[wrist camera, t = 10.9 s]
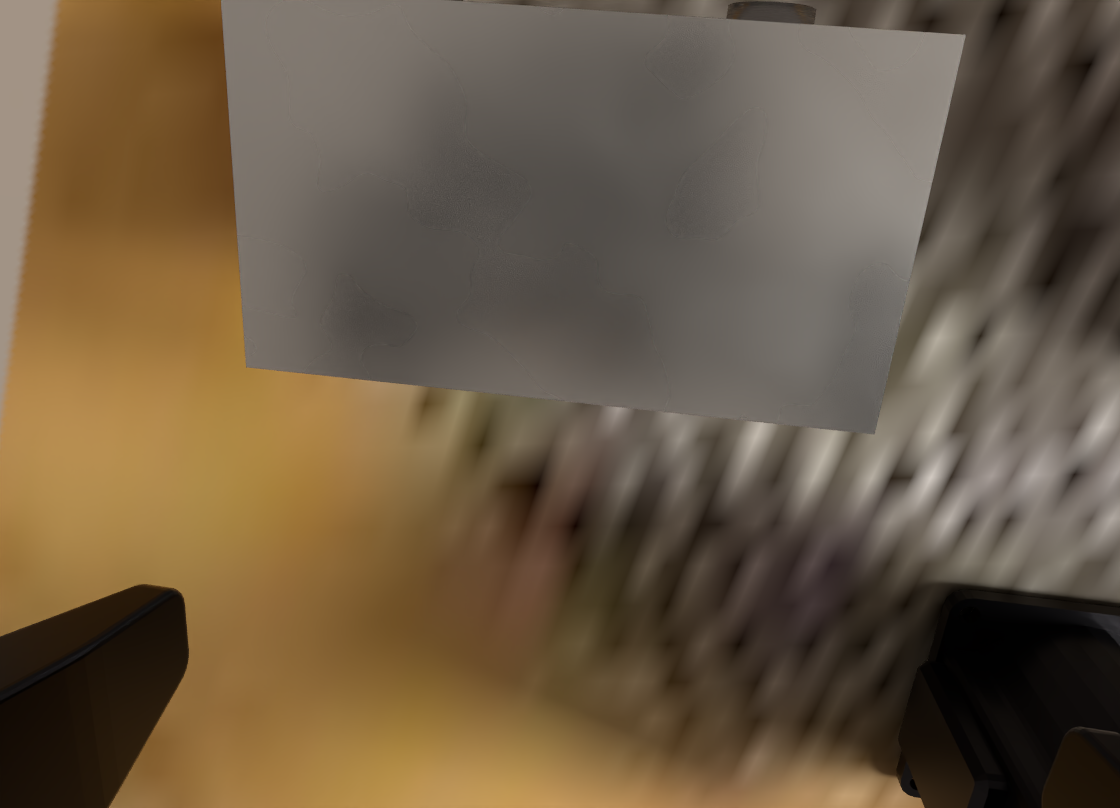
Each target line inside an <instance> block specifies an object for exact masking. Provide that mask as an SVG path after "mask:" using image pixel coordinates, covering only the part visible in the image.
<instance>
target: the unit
mask: <svg viewBox="0 0 1120 808" xmlns="http://www.w3.org/2000/svg"><path fill="white" fill-rule="evenodd" d="M221 8H222V22H223V37H224V51H225V66H226V80H227V95H228V109H229V124H230V138H231V153H232V167H233V182H234V197H235V211H236V226H237V240H238V255H239V269H240V284H241V298H242V313H243V327H244V342H245V357H246V367H249V368H259V369H268V370H277V371H287V372H296V373H305V374H315V375H324V376H333V377H343V378H352V379H362V380H371V381H380V382H390V383H399V384H408V385H418V386H427V387H436V388H446V389H455V390H464V391H474V392H483V393H493V394H502V395H511V396H521V397H530V398H539V399H549V400H558V401H567V402H577V403H586V404H595V405H605V406H614V407H624V408H633V409H642V410H652V411H661V412H670V413H680V414H689V415H698V416H708V417H717V418H726V419H736V420H745V421H755V422H764V423H773V424H783V425H792V426H801V427H811V428H820V429H829V430H839V431H848V432H857V433H867V434H875V430H876V426H877V421H878V417H879V412H880V408H881V404H882V399H883V395H884V391H885V386H886V382H887V378H888V373H889V369H890V364H891V360H892V356H893V351H894V347H895V343H896V338H897V334H898V329H899V325H900V321H901V316H902V312H903V308H904V303H905V299H906V295H907V290H908V286H909V281H910V277H911V273H912V268H913V264H914V260H915V255H916V251H917V246H918V242H919V238H920V233H921V229H922V225H923V220H924V216H925V212H926V207H927V203H928V198H929V194H930V190H931V185H932V181H933V177H934V172H935V168H936V163H937V159H938V155H939V150H940V146H941V142H942V137H943V133H944V129H945V124H946V120H947V115H948V111H949V107H950V102H951V98H952V94H953V89H954V85H955V81H956V76H957V72H958V67H959V63H960V59H961V54H962V50H963V46H964V41H965V37H966V35H960V34H945V33H930V32H915V31H900V30H885V29H870V28H855V27H840V26H825V25H814V21H815V15H816V9H815V8H813V7H810V6H806V5H800V4H793V3H783V2H738V3H733V4H730V5H728V12H727V19H721V18H706V17H691V16H676V15H661V14H646V13H631V12H616V11H601V10H586V9H571V8H556V7H541V6H526V5H511V4H496V3H481V2H466V1H463V0H221Z"/></svg>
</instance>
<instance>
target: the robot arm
mask: <svg viewBox="0 0 1120 808" xmlns="http://www.w3.org/2000/svg"><path fill="white" fill-rule="evenodd" d="M966 607H974V609H973V610H972V612H970V613H968V614H963V615H961V614H960V612H961V610H962V609H964V608H966ZM188 658H189V648H188V636H187V624H186V612H185V603H184V598H183V596H182V594H181V593H180V592H179V591H178V590H176V589H174V588H168V587H161V586H155V585H148V584H141V585H136V586H134V587H131V588H128V589H126V590H123V591H120V592H118V593H115V594H112V595H110V596H107V597H104V598H102V599H99V600H96V601H94V602H91V603H88V604H86V605H83V606H80V607H78V608H75V609H72V610H70V611H67V612H64V613H62V614H59V615H56V616H54V617H51V618H49V619H46V620H43V621H41V622H38V623H35V624H33V625H30V626H27V627H25V628H22V629H19V630H17V631H14V632H11V633H9V634H6V635H3V636H1V637H0V808H109V806H110V804H111V803H112V801H113V799H114V798H115V796H116V794H117V793H118V791H119V789H120V788H121V786H122V784H123V782H124V781H125V779H126V777H127V775H128V774H129V772H130V770H131V768H132V767H133V765H134V763H135V761H136V760H137V758H138V756H139V754H140V752H141V751H142V749H143V747H144V745H145V744H146V742H147V740H148V738H149V737H150V735H151V733H152V731H153V730H154V728H155V726H156V724H157V722H158V721H159V719H160V717H161V715H162V714H163V712H164V710H165V708H166V707H167V705H168V703H169V701H170V700H171V698H172V696H173V694H174V692H175V691H176V689H177V687H178V685H179V684H180V682H181V680H182V678H183V676H184V674H185V671H186V668H187V664H188ZM898 740H899V744H900V746H901V749H902V752H901V756H900V759H899V763H898V766H897V778H898V780H899V783H900V786H901V788H902V790H903V791H904V792H905V793H906V794H908V795H910V796H913V797H918V798H921V799H922V802H923V804H924V807H925V808H1120V608H1118V607H1110V606H1101V605H1093V604H1085V603H1077V602H1068V601H1060V600H1052V599H1044V598H1035V597H1027V596H1019V595H1011V594H1002V593H994V592H986V591H977V590H969V589H968V590H959V591H956V592H953V593H952V594H951V595H950V596H948V597H947V599H946V601H945V603H944V605H943V609H942V612H941V616H940V619H939V623H938V626H937V630H936V633H935V637H934V640H933V644H932V647H931V651H930V654H929V658H928V661H925V662H924V663H923V664H922V665H921V666H920V667H918V669H917V673H916V677H915V680H914V684H913V687H912V691H911V694H910V698H909V701H908V705H907V709H906V712H905V716H904V719H903V723H902V726H901V730H900V733H899V738H898ZM912 778H913V779H912Z"/></svg>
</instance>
